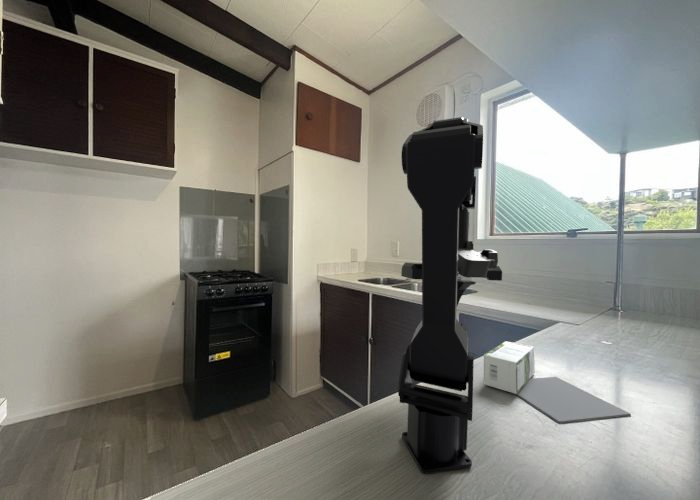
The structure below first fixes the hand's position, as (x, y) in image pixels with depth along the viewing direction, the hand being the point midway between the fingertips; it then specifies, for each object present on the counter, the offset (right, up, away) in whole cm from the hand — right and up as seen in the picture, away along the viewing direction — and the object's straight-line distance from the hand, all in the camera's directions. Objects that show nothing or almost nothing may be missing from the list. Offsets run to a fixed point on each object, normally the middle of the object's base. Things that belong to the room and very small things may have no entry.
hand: (449, 315), depth 54 cm
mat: (+18, -14, -4) cm, 23 cm away
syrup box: (+8, -10, -3) cm, 13 cm away
